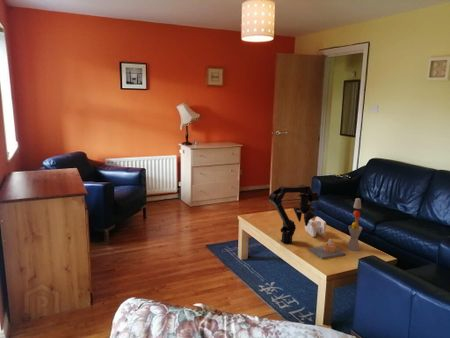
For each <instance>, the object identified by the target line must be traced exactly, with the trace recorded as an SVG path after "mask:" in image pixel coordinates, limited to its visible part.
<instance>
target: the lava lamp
mask: <svg viewBox="0 0 450 338" xmlns="http://www.w3.org/2000/svg"><path fill="white" fill-rule="evenodd" d="M354 200H355V201H354V203H353V209H355V210H354V211H353V216H354V220H355V221H354V222H352V224H350V225H347V226H348V230H349V235H350V238H349V240H348V243H347V245H346V249H347V250H350V251H354V252H359V251H360V250H361V246H360V243H359V236H360V234H361V232H362V230H363V227H362V226H360V225H359V220H360V215H361V212H360V210H359V209H362V201H361V198H359V197H358V198H357V197H356V198H355V199H354Z"/></svg>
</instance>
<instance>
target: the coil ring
mask: <svg viewBox="0 0 450 338" xmlns="http://www.w3.org/2000/svg"><path fill="white" fill-rule="evenodd" d="M323 246H324V251H326V252H335V247H336V248H337V246H336V243H334V242H332V246H329V245H328V241H327V242H324V244H323Z"/></svg>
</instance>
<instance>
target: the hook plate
mask: <svg viewBox="0 0 450 338" xmlns="http://www.w3.org/2000/svg"><path fill="white" fill-rule="evenodd" d="M327 242H328V245H329V246H332V243H333V239H331V238H329V239H328V241H327ZM308 249H309V250H308V251H309V252H311V253H312V254H314V255H315V256H316V257H318V258H319V259H321V260H325V259H330V258H331V257H332V258H337V257H343V256H346V252H344V251H343V250H341V249H339V248H338V247H337V246H336V247H335V252H326V251H324V245H321V246H320V245H319V246H314V247H309V248H308Z"/></svg>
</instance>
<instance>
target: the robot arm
mask: <svg viewBox="0 0 450 338" xmlns="http://www.w3.org/2000/svg"><path fill="white" fill-rule="evenodd" d="M286 193H290V194H291V193H295V194H296V193H300V194H298V195H297V197H299V198H300V202H298V205H299V206H294V207H293V211H294V213H295V216H296V218H297V220H298V222H299V223H300V222H302V221H301V220H302V215H303V221H304V227H305V226H307V225H308V223H309V221H310V219H311V220H312V219H313V218H314V219H315V214H314V213H315V212H316V207H314V206H312V204H310V203H314V202H318V201H319V200H320V197H319V194H318V192H317V191H312V188H311V186H309V185H306V184H299V185H297V186H296V185H294V186H289V185H288V186H283V185H281V186H279V187H278V188H277V189H275V190H274V191H272V192H271V193H270V194H269V195H268V201H270V203H271V204H272V205H273V206H274V207H275V209H276V211H277V213H278V214H279V215H278V216H280V219H281V220H282V227H281V228H280V233H281V239H280V242H281V243H282V244H284V245H288V244H289V245H290V244H293V236H294V234H295V231H296V230H297V227H296V224H295V222H294V220H292V219H291V218H289V216H288V214H287V212H286V211H285V209H284V206H283V198H284V197H285V195H286Z"/></svg>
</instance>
